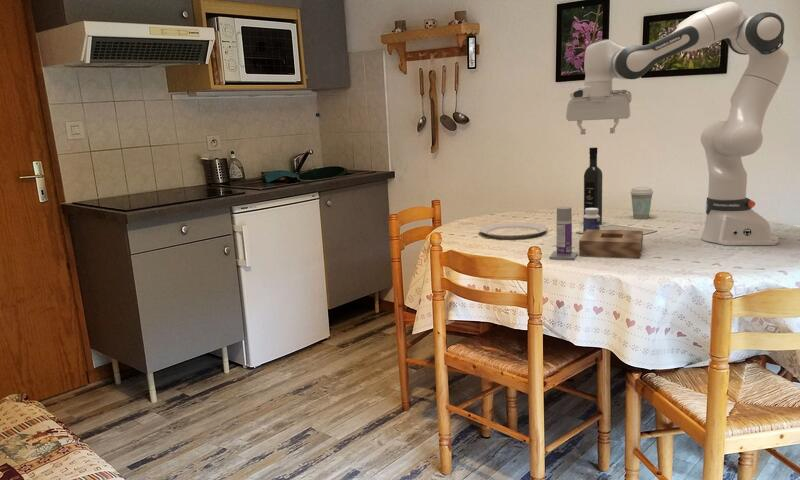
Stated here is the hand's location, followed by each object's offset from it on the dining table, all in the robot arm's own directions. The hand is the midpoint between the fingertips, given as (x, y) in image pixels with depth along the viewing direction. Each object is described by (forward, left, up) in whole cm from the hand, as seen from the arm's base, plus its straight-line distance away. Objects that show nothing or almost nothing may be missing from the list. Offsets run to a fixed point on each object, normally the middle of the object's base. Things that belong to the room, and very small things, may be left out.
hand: (597, 133), depth 208 cm
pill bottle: (+3, -10, -37) cm, 39 cm away
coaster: (+8, +23, -37) cm, 44 cm away
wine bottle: (+5, -31, -37) cm, 49 cm away
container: (+7, +23, -36) cm, 44 cm away
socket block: (-6, +12, -37) cm, 39 cm away
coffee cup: (-12, -47, -37) cm, 61 cm away
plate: (+32, -11, -38) cm, 51 cm away
